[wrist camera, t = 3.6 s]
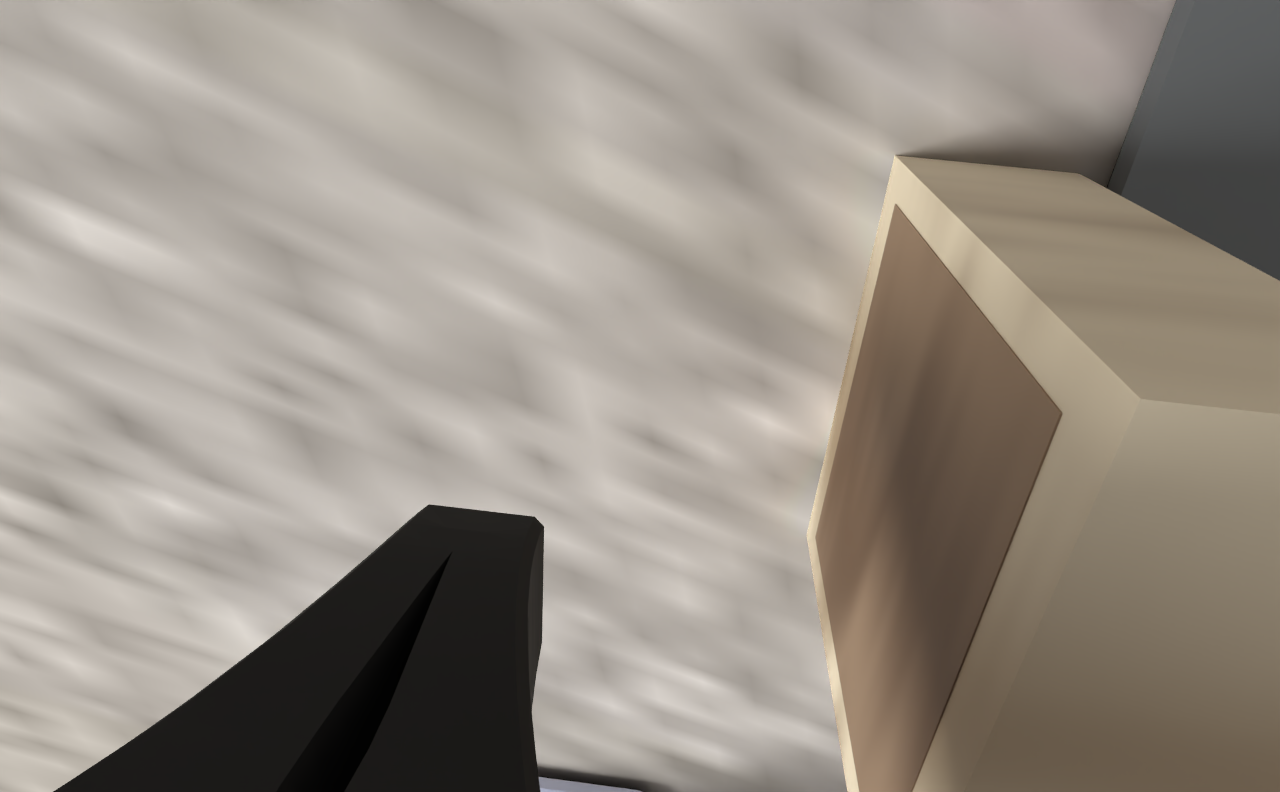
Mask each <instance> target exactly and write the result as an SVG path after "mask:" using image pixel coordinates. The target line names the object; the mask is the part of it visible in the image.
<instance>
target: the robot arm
mask: <svg viewBox="0 0 1280 792" xmlns="http://www.w3.org/2000/svg"><path fill="white" fill-rule="evenodd" d="M543 552H544V526H543V525H542V524H541V523H540V522H539V521H538V520H537V519H536V518H535V517H532V516H523V515H514V514H506V513H497V512H489V511H480V510H472V509H463V508H454V507H446V506H437V505H428V506H426V507H425V508H424V509H422V510H421V511H420V512H418V513H417V514H416V515H415V516H414V517H413V518H411V519H410V520H409V521H408V522H407V523H406V524H404V525H403V526H402V527H401V528H400V529H399V530H398V531H396V532H395V533H394V534H393V535H392V536H391V537H390V538H388V539H387V540H386V541H385V542H384V543H383V544H382V545H381V546H379V547H378V548H377V549H376V550H375V551H374V552H373V553H371V554H370V555H369V556H368V557H367V558H366V559H365V560H363V561H362V562H361V563H360V564H359V565H358V566H356V567H355V568H354V569H353V570H352V571H351V572H349V573H348V574H347V575H346V576H345V577H344V578H342V579H341V580H340V581H339V582H338V583H337V584H335V585H334V586H333V587H332V588H331V589H329V590H328V591H327V592H326V593H325V594H323V595H322V596H321V597H320V598H319V599H317V600H316V601H315V602H314V603H312V604H311V605H310V606H309V607H308V608H306V609H305V610H304V611H303V612H302V613H300V614H299V615H298V616H297V617H296V618H294V619H293V620H292V621H291V622H289V623H288V624H287V625H286V626H285V627H283V628H282V629H281V630H280V631H278V632H277V633H276V634H275V635H273V636H272V637H271V638H270V639H268V640H267V641H266V642H265V643H263V644H262V645H261V646H259V647H258V648H257V649H255V650H254V651H253V652H252V653H250V654H249V655H248V656H246V657H245V658H244V659H242V660H241V661H240V662H238V663H237V664H236V665H234V666H233V667H232V668H230V669H229V670H228V671H226V672H225V673H224V674H222V675H221V676H220V677H219V678H217V679H216V680H215V681H213V682H212V683H211V684H209V685H208V686H207V687H205V688H204V689H203V690H201V691H200V692H199V693H197V694H196V695H195V696H193V697H192V698H191V699H189V700H188V701H187V702H185V703H184V704H182V705H181V706H180V707H178V708H177V709H175V710H174V711H173V712H171V713H170V714H168V715H167V716H166V717H164V718H163V719H161V720H160V721H158V722H157V723H156V724H154V725H153V726H151V727H150V728H149V729H147V730H146V731H144V732H143V733H141V734H140V735H138V736H137V737H135V738H134V739H133V740H131V741H130V742H128V743H127V744H125V745H124V746H122V747H121V748H119V749H118V750H116V751H115V752H113V753H112V754H110V755H109V756H107V757H106V758H104V759H103V760H101V761H100V762H98V763H97V764H95V765H94V766H92V767H90V768H89V769H87V770H86V771H84V772H83V773H81V774H80V775H78V776H77V777H75V778H74V779H72V780H71V781H69V782H68V783H66V784H65V785H63V786H61V787H60V788H58V789H57V790H55V791H54V792H642V791H639V790H634V789H627V788H619V787H612V786H604V785H597V784H589V783H582V782H574V781H567V780H559V779H552V778H544V777H538V769H537V761H536V752H535V742H534V732H533V722H532V703H533V695H534V687H535V679H536V672H537V666H538V661H539V655H540V649H541V644H542V607H543Z"/></svg>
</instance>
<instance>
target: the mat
mask: <svg viewBox="0 0 1280 792" xmlns="http://www.w3.org/2000/svg"><path fill="white" fill-rule="evenodd" d="M1107 189H1109V190H1111V191H1113V192H1114V193H1116V194H1118V195H1120V196H1122V197H1124V198H1126V199H1127V200H1129V201H1131V202H1133V203H1135V204H1137V205H1139V206H1141V207H1142V208H1144V209H1146V210H1148V211H1150V212H1152V213H1154V214H1156V215H1157V216H1159V217H1161V218H1163V219H1165V220H1167V221H1169V222H1171V223H1172V224H1174V225H1176V226H1178V227H1180V228H1182V229H1184V230H1185V231H1187V232H1189V233H1191V234H1193V235H1195V236H1197V237H1199V238H1200V239H1202V240H1204V241H1206V242H1208V243H1210V244H1212V245H1214V246H1215V247H1217V248H1219V249H1221V250H1223V251H1225V252H1227V253H1228V254H1230V255H1232V256H1234V257H1236V258H1238V259H1240V260H1242V261H1243V262H1245V263H1247V264H1249V265H1251V266H1253V267H1255V268H1257V269H1258V270H1260V271H1262V272H1264V273H1266V274H1268V275H1270V276H1272V277H1273V278H1275V279H1277V280H1279V281H1280V0H1176V3H1175V5H1174V8H1173V11H1172V14H1171V16H1170V19H1169V22H1168V24H1167V27H1166V30H1165V32H1164V35H1163V38H1162V41H1161V43H1160V46H1159V49H1158V51H1157V54H1156V57H1155V60H1154V62H1153V65H1152V68H1151V70H1150V73H1149V76H1148V78H1147V81H1146V84H1145V87H1144V89H1143V92H1142V95H1141V97H1140V100H1139V103H1138V106H1137V108H1136V111H1135V114H1134V116H1133V119H1132V122H1131V124H1130V127H1129V130H1128V133H1127V135H1126V138H1125V141H1124V143H1123V146H1122V149H1121V152H1120V154H1119V157H1118V160H1117V162H1116V165H1115V168H1114V170H1113V173H1112V176H1111V179H1110V181H1109V184H1108V187H1107Z"/></svg>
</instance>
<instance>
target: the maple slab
mask: <svg viewBox="0 0 1280 792" xmlns="http://www.w3.org/2000/svg"><path fill="white" fill-rule="evenodd" d="M807 540H808V547H809V553H810V559H811V565H812V572H813V578H814V584H815V591H816V597H817V603H818V610H819V616H820V622H821V629H822V635H823V641H824V647H825V654H826V660H827V666H828V673H829V679H830V685H831V692H832V698H833V704H834V711H835V717H836V723H837V730H838V736H839V742H840V748H841V755H842V761H843V767H844V774H845V780H846V786H847V792H1280V281H1279V280H1277V279H1275V278H1273V277H1272V276H1270V275H1268V274H1266V273H1264V272H1262V271H1260V270H1258V269H1257V268H1255V267H1253V266H1251V265H1249V264H1247V263H1245V262H1243V261H1242V260H1240V259H1238V258H1236V257H1234V256H1232V255H1230V254H1228V253H1227V252H1225V251H1223V250H1221V249H1219V248H1217V247H1215V246H1214V245H1212V244H1210V243H1208V242H1206V241H1204V240H1202V239H1200V238H1199V237H1197V236H1195V235H1193V234H1191V233H1189V232H1187V231H1185V230H1184V229H1182V228H1180V227H1178V226H1176V225H1174V224H1172V223H1171V222H1169V221H1167V220H1165V219H1163V218H1161V217H1159V216H1157V215H1156V214H1154V213H1152V212H1150V211H1148V210H1146V209H1144V208H1142V207H1141V206H1139V205H1137V204H1135V203H1133V202H1131V201H1129V200H1127V199H1126V198H1124V197H1122V196H1120V195H1118V194H1116V193H1114V192H1113V191H1111V190H1109V189H1107V188H1105V187H1103V186H1101V185H1099V184H1098V183H1096V182H1094V181H1092V180H1090V179H1088V178H1086V177H1084V176H1083V175H1081V174H1079V173H1069V172H1059V171H1049V170H1039V169H1029V168H1018V167H1008V166H998V165H988V164H978V163H968V162H957V161H947V160H937V159H927V158H917V157H906V156H896V155H895V157H894V161H893V165H892V170H891V174H890V178H889V182H888V187H887V191H886V195H885V200H884V204H883V208H882V213H881V217H880V221H879V225H878V230H877V234H876V238H875V243H874V247H873V251H872V256H871V260H870V264H869V269H868V273H867V277H866V281H865V286H864V290H863V294H862V299H861V303H860V307H859V312H858V316H857V320H856V324H855V329H854V333H853V337H852V342H851V346H850V350H849V355H848V359H847V363H846V368H845V372H844V376H843V380H842V385H841V389H840V393H839V398H838V402H837V406H836V411H835V415H834V419H833V423H832V428H831V432H830V436H829V441H828V445H827V449H826V454H825V458H824V462H823V467H822V471H821V475H820V479H819V484H818V488H817V492H816V497H815V501H814V505H813V510H812V514H811V518H810V522H809V527H808V531H807Z"/></svg>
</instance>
